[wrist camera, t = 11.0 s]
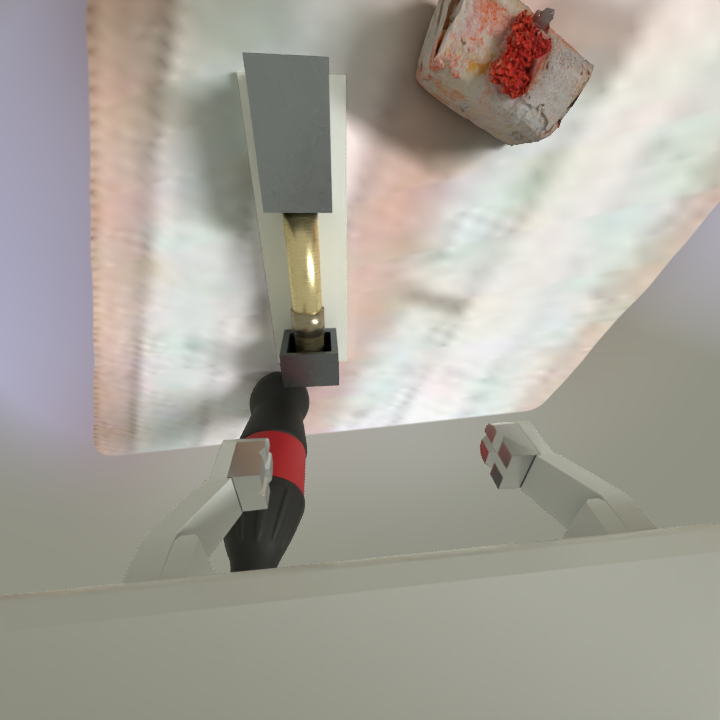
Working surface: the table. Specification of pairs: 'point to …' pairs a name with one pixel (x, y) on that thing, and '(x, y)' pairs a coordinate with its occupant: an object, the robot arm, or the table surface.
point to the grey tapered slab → (291, 130)
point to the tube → (305, 280)
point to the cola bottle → (273, 476)
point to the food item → (501, 67)
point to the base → (329, 224)
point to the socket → (309, 362)
